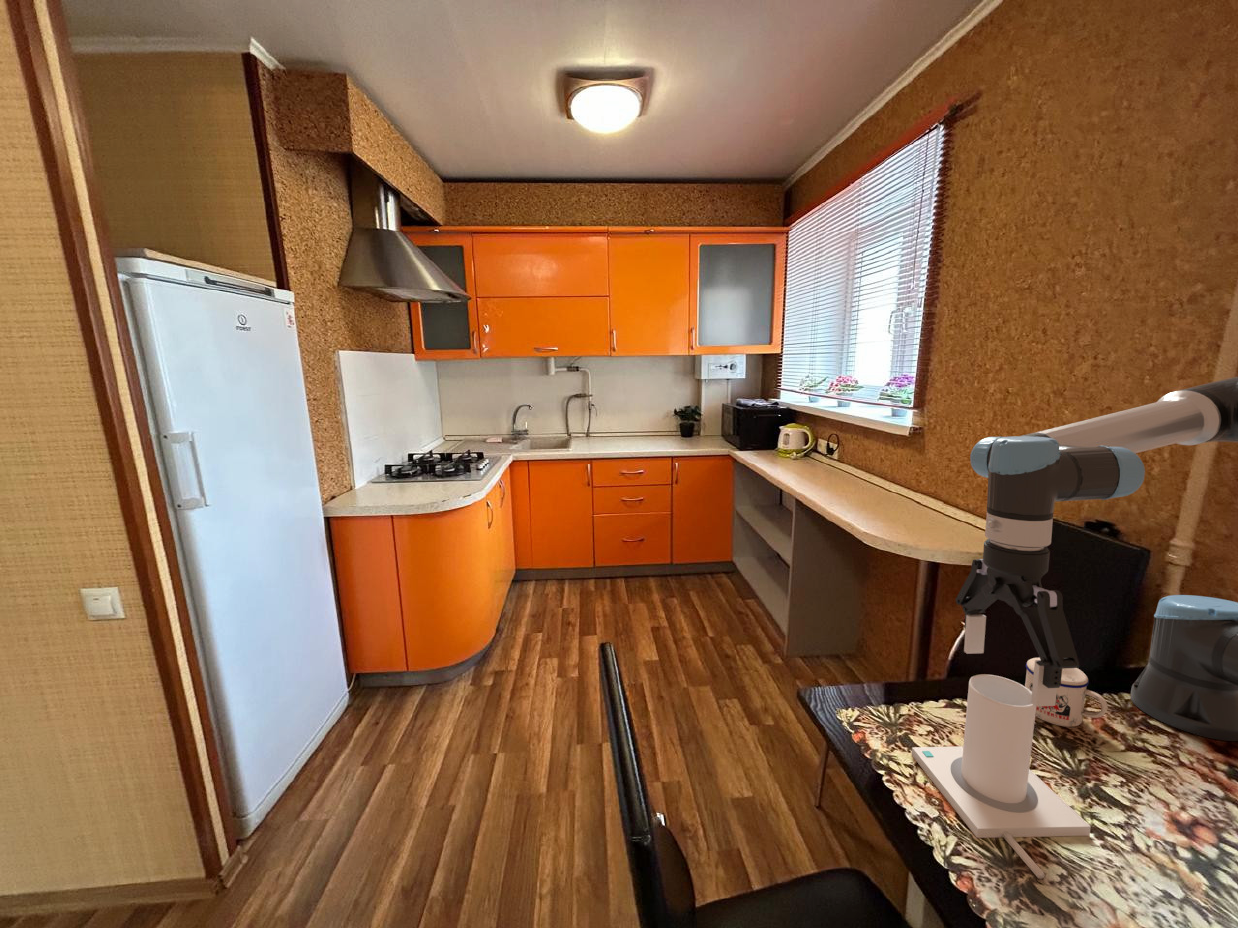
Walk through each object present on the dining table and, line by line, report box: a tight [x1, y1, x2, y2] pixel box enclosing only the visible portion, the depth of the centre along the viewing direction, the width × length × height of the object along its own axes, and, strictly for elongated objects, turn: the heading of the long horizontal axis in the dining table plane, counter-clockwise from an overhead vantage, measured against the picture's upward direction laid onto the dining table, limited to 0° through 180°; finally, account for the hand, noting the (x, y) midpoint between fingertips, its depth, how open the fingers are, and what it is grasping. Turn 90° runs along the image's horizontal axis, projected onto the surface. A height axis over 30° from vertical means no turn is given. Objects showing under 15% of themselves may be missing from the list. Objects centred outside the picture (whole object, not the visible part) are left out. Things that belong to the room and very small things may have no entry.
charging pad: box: [911, 745, 1091, 880], centre depth 75 cm, size 16×22×2 cm
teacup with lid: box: [1024, 657, 1109, 728], centre depth 94 cm, size 12×9×12 cm
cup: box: [961, 673, 1036, 803], centre depth 76 cm, size 8×8×16 cm
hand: (1005, 676), depth 75 cm, fingers open, 13 cm apart
